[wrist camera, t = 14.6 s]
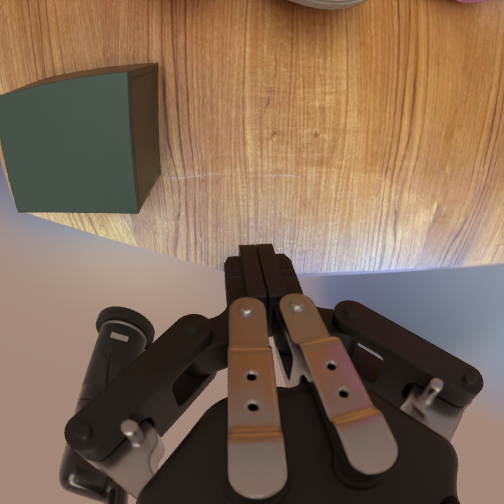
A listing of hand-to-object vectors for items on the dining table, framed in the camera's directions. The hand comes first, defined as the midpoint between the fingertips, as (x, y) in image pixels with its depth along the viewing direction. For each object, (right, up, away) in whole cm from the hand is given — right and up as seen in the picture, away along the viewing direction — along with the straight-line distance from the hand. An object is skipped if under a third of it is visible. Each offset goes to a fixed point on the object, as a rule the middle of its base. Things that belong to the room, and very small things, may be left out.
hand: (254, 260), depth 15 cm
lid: (-18, +10, +11) cm, 23 cm away
